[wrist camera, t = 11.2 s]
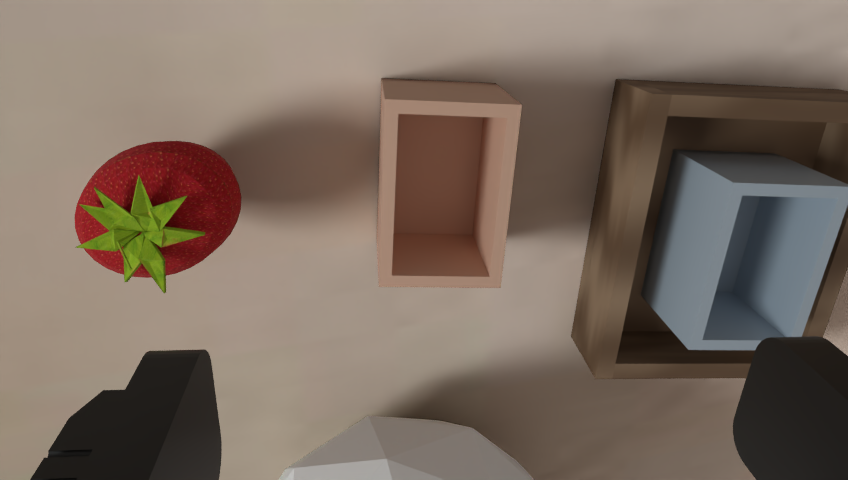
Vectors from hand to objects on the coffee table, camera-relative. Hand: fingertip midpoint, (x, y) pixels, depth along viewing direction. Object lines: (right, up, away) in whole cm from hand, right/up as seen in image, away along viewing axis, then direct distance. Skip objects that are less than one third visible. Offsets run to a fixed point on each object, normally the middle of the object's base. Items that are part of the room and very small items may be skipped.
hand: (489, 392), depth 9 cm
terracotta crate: (0, +6, +25) cm, 26 cm away
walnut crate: (+15, +3, +28) cm, 32 cm away
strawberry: (-13, +6, +24) cm, 28 cm away
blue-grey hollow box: (+15, +3, +27) cm, 31 cm away
